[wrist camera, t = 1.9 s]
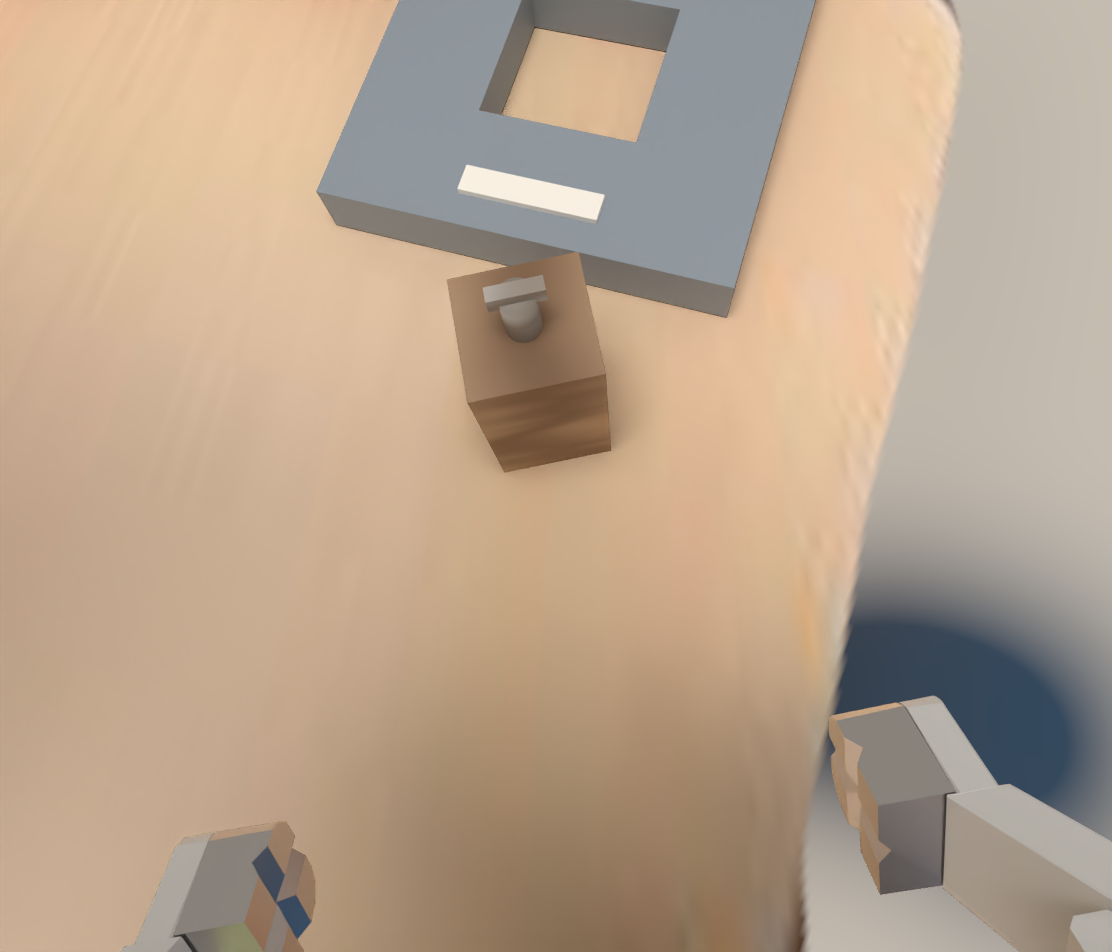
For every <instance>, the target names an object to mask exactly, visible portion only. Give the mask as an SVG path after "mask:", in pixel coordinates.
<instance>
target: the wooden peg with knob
mask: <svg viewBox="0 0 1112 952" xmlns="http://www.w3.org/2000/svg"><path fill="white" fill-rule="evenodd" d="M447 283H448V289H449V295H450V301H451V307H452V313H453V319H454V325H455V331H456V337H457V343H458V349H459V355H460V361H461V367H462V373H463V379H464V385H465V391H466V397H467V403H468V405H469V406H470V408H471V410H472V412H473V414H474V416H475V418H476V420H477V421H478V423H479V425H480V427H481V429H482V431H483V433H484V434H485V436H486V438H487V440H488V442H489V444H490V446H491V448H492V449H493V451H494V453H495V455H496V457H497V459H498V461H499V462H500V464H501V466H502V468H503V470H504V472H509V471H514V470H519V469H524V468H528V467H533V466H538V465H543V464H548V463H553V462H558V461H563V460H567V459H572V458H577V457H582V456H587V455H592V454H597V453H601V452H606V451H611V446H610V432H609V417H608V402H607V387H606V374H605V369H604V365H603V360H602V356H601V351H600V346H599V342H598V337H597V333H596V328H595V324H594V319H593V315H592V310H591V306H590V301H589V297H588V292H587V288H586V283H585V279H584V274H583V270H582V265H581V261H580V256H579V252H574V253H569V254H565V255H560V256H555V257H551V258H546V259H541V260H537V261H532V262H527V263H523V264H518V265H513V266H509V267H504V268H499V269H494V270H490V271H485V272H480V273H476V274H471V275H466V276H462V277H457V278H452V279H448V280H447Z"/></svg>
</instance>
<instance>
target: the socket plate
mask: <svg viewBox="0 0 1112 952" xmlns="http://www.w3.org/2000/svg"><path fill="white" fill-rule="evenodd" d="M815 2H816V0H399V2H398V4H397V7H396V9H395V11H394V13H393V16H392V18H391V20H390V23H389V25H388V27H387V30H386V32H385V34H384V36H383V39H382V41H381V43H380V46H379V48H378V50H377V53H376V55H375V57H374V60H373V62H372V64H371V66H370V69H369V71H368V73H367V76H366V78H365V80H364V83H363V85H362V87H361V90H360V92H359V94H358V96H357V99H356V101H355V103H354V106H353V108H352V110H351V113H350V115H349V117H348V120H347V122H346V124H345V126H344V129H343V131H342V133H341V136H340V138H339V140H338V143H337V145H336V147H335V150H334V152H333V154H332V156H331V159H330V161H329V163H328V166H327V168H326V170H325V173H324V175H323V177H322V180H321V182H320V184H319V186H318V189H317V191H316V192H317V193H318V195H319V197H320V198H321V200H322V202H323V203H324V205H325V207H326V208H327V210H328V211H329V213H330V215H331V216H332V218H333V220H334V221H335V223H336V225H340V226H344V227H348V228H352V229H356V230H361V231H365V232H369V233H373V234H377V235H382V236H386V237H390V238H394V239H398V240H403V241H407V242H411V243H415V244H419V245H424V246H428V247H432V248H436V249H441V250H445V251H449V252H453V253H457V254H462V255H466V256H470V257H474V258H478V259H483V260H487V261H491V262H495V263H499V264H504V265H508V266H513V265H518V264H523V263H527V262H532V261H537V260H541V259H546V258H551V257H555V256H560V255H565V254H569V253H574V252H579V256H580V261H581V265H582V270H583V274H584V279H585V283H586V284H588V285H592V286H596V287H600V288H604V289H609V290H613V291H617V292H621V293H625V294H630V295H634V296H638V297H642V298H646V299H651V300H655V301H659V302H663V303H668V304H672V305H676V306H680V307H684V308H689V309H693V310H697V311H701V312H705V313H710V314H714V315H718V316H722V317H726V318H727V314H728V311H729V307H730V304H731V300H732V297H733V293H734V289H735V286H736V282H737V279H738V275H739V272H740V268H741V265H742V261H743V258H744V254H745V250H746V247H747V243H748V240H749V236H750V233H751V229H752V226H753V222H754V218H755V215H756V211H757V208H758V204H759V201H760V197H761V194H762V190H763V187H764V183H765V179H766V176H767V172H768V169H769V165H770V162H771V158H772V155H773V151H774V148H775V144H776V140H777V137H778V133H779V130H780V126H781V123H782V119H783V116H784V112H785V109H786V105H787V101H788V98H789V94H790V91H791V87H792V84H793V80H794V77H795V73H796V70H797V66H798V62H799V59H800V55H801V52H802V48H803V45H804V41H805V38H806V34H807V30H808V27H809V23H810V20H811V16H812V13H813V9H814V6H815ZM534 27H538V28H543V29H548V30H554V31H559V32H564V33H570V34H575V35H580V36H586V37H591V38H596V39H602V40H607V41H612V42H618V43H623V44H628V45H634V46H639V47H644V48H650V49H655V50H660V51H666V54H665V57H664V60H663V63H662V66H661V69H660V72H659V75H658V78H657V81H656V85H655V88H654V91H653V94H652V97H651V100H650V103H649V106H648V109H647V112H646V115H645V118H644V121H643V124H642V127H641V130H640V133H639V136H638V139H637V142H636V143H635V142H630V141H625V140H620V139H616V138H611V137H606V136H601V135H596V134H591V133H587V132H582V131H577V130H572V129H567V128H562V127H558V126H553V125H548V124H543V123H538V122H533V121H529V120H524V119H519V118H514V117H509V116H504V115H501V114H502V112H503V109H504V106H505V104H506V101H507V98H508V96H509V93H510V90H511V88H512V85H513V83H514V80H515V77H516V75H517V72H518V69H519V67H520V64H521V62H522V59H523V56H524V54H525V51H526V48H527V46H528V43H529V41H530V38H531V35H532V33H533V30H534Z"/></svg>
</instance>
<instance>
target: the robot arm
mask: <svg viewBox="0 0 1112 952" xmlns="http://www.w3.org/2000/svg"><path fill="white" fill-rule="evenodd" d="M829 736H830V738H831V740H832V742H833V744H834V747H835V749H836V751H835V752H834V753H833V754H832V756H831V765H832V775H833V779H834V784H835V788H836V792H837V795H838V798H839V801H840V804H841V807H842V809H843V812H844V814H845V816H846V819H847V821H848V823H849V824H850V825H851V826H853V827H855V828H856V829H857V830H859V831H860V846H861V853H862V855H863V858H864V860H865V862H866V864H867V866H868V869H869V871H870V873H871V875H872V877H873V880H874V882H875V884H876V886H877V889H878V891H879V893H880V895H881V894H887V893H894V892H900V891H907V890H913V889H921V888H928V887H934V886H941V885H943V889H944V890H946V891H947V892H948V893H949V894H950V895H952V896H953V897H954V898H955V899H956V900H958V901H959V902H960V903H961V904H962V905H964V906H965V907H966V908H967V909H968V910H970V911H971V912H972V913H973V914H975V915H976V916H977V917H978V918H979V919H981V920H982V921H983V922H984V923H985V924H987V925H988V926H989V927H990V928H992V929H993V930H994V931H995V932H996V933H998V934H999V935H1000V936H1001V937H1002V938H1004V939H1005V940H1006V941H1007V942H1008V943H1010V944H1011V945H1012V946H1013V947H1014V948H1016V949H1017V950H1018V951H1019V952H1112V841H1110V840H1108V839H1106V838H1104V837H1103V836H1101V835H1099V834H1097V833H1096V832H1094V831H1092V830H1090V829H1089V828H1087V827H1085V826H1083V825H1081V824H1080V823H1078V822H1076V821H1074V820H1073V819H1071V818H1069V817H1067V816H1066V815H1064V814H1062V813H1060V812H1059V811H1057V810H1055V809H1053V808H1051V807H1050V806H1048V805H1046V804H1044V803H1043V802H1041V801H1039V800H1037V799H1035V798H1034V797H1032V796H1030V795H1028V794H1027V793H1025V792H1023V791H1021V790H1020V789H1018V788H1016V787H1014V786H1012V785H1011V784H1005V785H998V784H997V782H996V781H995V779H994V778H993V776H992V775H991V773H990V772H989V770H988V769H987V768H986V766H985V764H984V763H983V762H982V760H981V759H980V757H979V756H978V754H977V753H976V751H975V750H974V748H973V747H972V745H971V744H970V742H969V741H968V739H967V738H966V736H965V735H964V733H963V732H962V731H961V729H960V727H959V726H958V724H957V723H956V721H955V720H954V718H953V717H952V715H951V714H950V712H949V711H948V710H947V708H946V706H945V705H944V703H943V702H942V701H941V700H940V699H939V698H937V697H936V696H930V697H924V698H919V699H914V700H909V701H904V702H900V703H899V704H898V703H892V704H887V705H882V706H877V707H872V708H867V709H862V710H857V711H852V712H847V713H842V714H838V715H833V716H830V719H829ZM294 838H295V835H294V833H293V832H292V830H291V829H290V827H289V825H288V824H287V822H274V823H268V824H262V825H256V826H250V827H244V828H237V829H231V830H225V831H219V832H215V833H209V834H203V835H198V836H192V837H186V838H184V839H183V840H182V841H181V842H180V843H179V844H178V845H177V846H176V848H175V849H174V852H173V854H172V856H171V859H170V861H169V864H168V866H167V868H166V871H165V873H164V876H163V878H162V880H161V883H160V885H159V888H158V890H157V892H156V895H155V897H154V900H153V902H152V904H151V907H150V909H149V912H148V914H147V916H146V919H145V921H144V924H143V926H142V928H141V931H140V933H139V936H138V938H137V940H136V943H135V944H134V945H129V946H125V947H124V948H123V949H122V950H121V951H120V952H304V950H303V948H302V946H301V945H300V943H299V941H298V938H299V937H300V935H301V934H302V933H303V932H304V930H305V929H306V928H307V927H308V925H309V924H310V923H311V921H312V916H313V911H314V906H315V879H314V875H313V871H312V867H311V865H310V863H309V861H308V859H307V857H306V855H304V854H302V853H300V852H298V851H296V850H294V849H292V846H293V842H294Z"/></svg>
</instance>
